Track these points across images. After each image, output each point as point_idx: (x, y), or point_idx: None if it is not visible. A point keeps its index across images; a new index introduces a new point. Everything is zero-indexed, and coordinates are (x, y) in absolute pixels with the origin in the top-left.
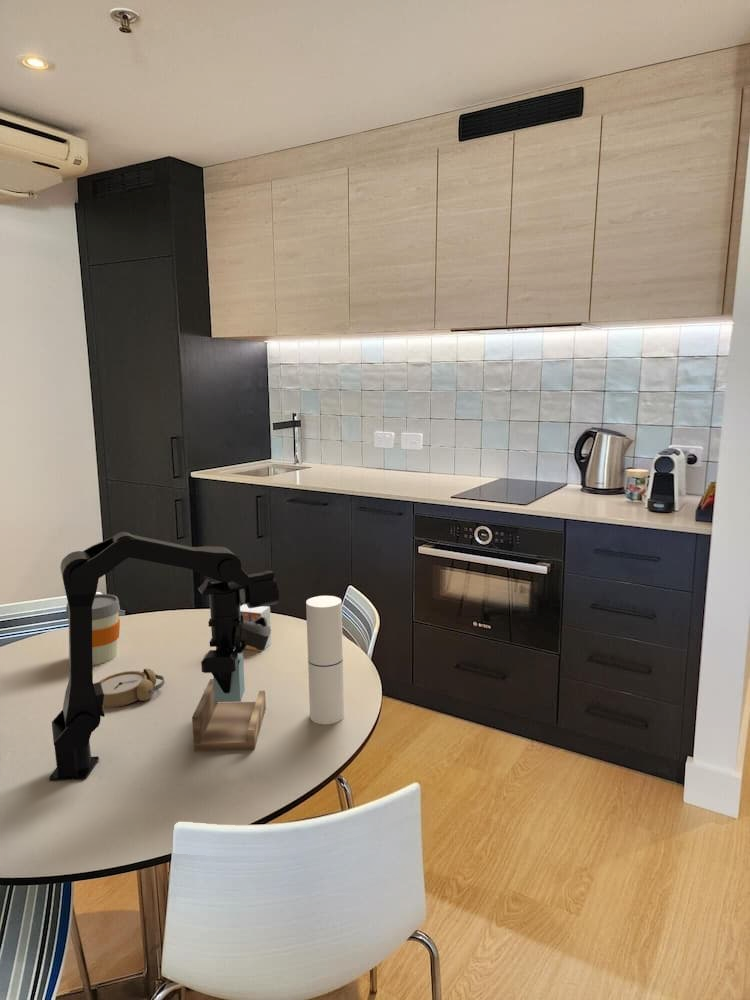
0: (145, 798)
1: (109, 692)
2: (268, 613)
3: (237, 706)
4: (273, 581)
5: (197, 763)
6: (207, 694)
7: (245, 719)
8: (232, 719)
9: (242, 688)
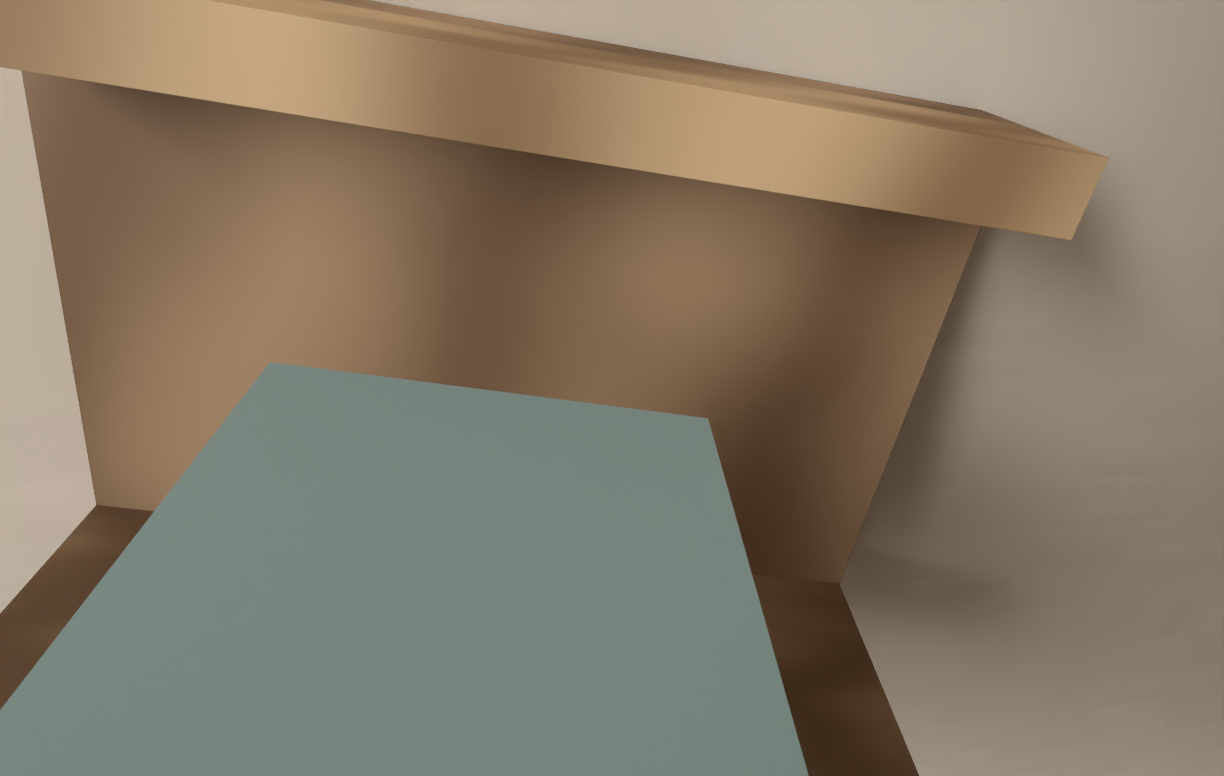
0: (1205, 746)
1: None
2: None
3: (170, 315)
4: None
5: (979, 546)
6: None
7: (486, 224)
8: (469, 358)
9: (468, 461)
